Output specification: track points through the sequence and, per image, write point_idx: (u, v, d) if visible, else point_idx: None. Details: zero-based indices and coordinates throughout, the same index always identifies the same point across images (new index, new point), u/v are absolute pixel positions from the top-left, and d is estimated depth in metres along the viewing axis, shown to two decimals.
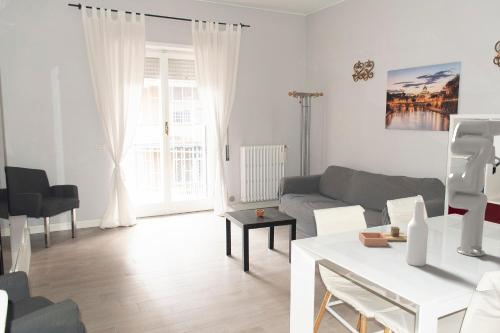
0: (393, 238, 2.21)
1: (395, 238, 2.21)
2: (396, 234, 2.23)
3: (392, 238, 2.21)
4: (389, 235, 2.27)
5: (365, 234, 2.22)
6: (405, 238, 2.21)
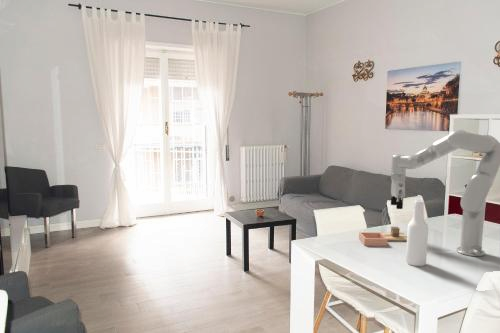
0: (393, 238, 2.21)
1: (395, 238, 2.21)
2: (396, 234, 2.23)
3: (392, 238, 2.21)
4: (389, 235, 2.27)
5: (365, 234, 2.22)
6: (405, 238, 2.21)
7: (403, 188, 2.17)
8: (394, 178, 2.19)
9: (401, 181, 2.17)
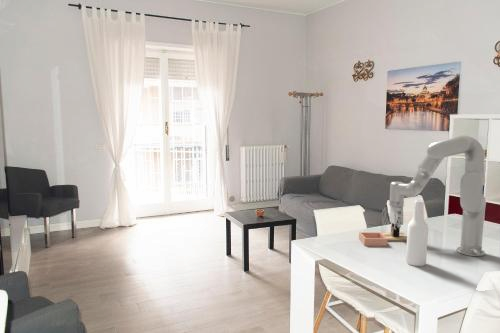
0: (393, 238, 2.21)
1: (395, 238, 2.21)
2: None
3: (392, 238, 2.21)
4: (389, 235, 2.27)
5: (365, 234, 2.22)
6: (405, 238, 2.21)
7: (401, 215, 2.19)
8: (392, 205, 2.21)
9: (399, 208, 2.19)
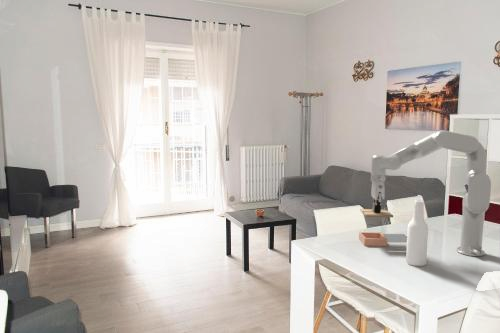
0: (374, 214, 2.12)
1: (376, 214, 2.12)
2: None
3: (373, 214, 2.12)
4: (370, 211, 2.18)
5: (365, 234, 2.22)
6: (386, 214, 2.12)
7: (383, 190, 2.10)
8: (374, 179, 2.12)
9: (381, 183, 2.10)
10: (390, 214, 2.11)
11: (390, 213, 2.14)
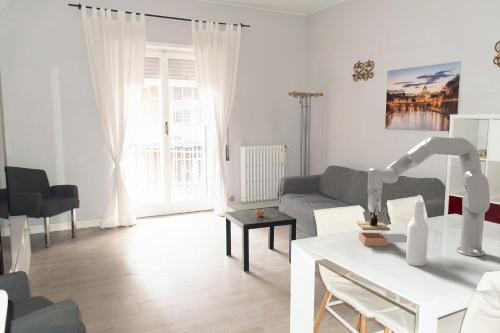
0: (370, 227, 2.11)
1: (373, 227, 2.12)
2: None
3: (369, 227, 2.11)
4: (367, 224, 2.17)
5: (365, 234, 2.22)
6: (383, 227, 2.12)
7: (379, 203, 2.09)
8: (370, 193, 2.11)
9: (377, 196, 2.09)
10: (387, 227, 2.11)
11: None
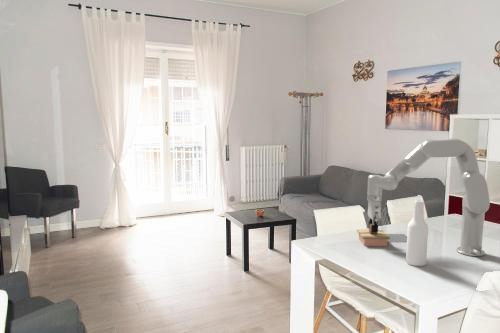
0: (371, 235, 2.12)
1: (373, 235, 2.12)
2: None
3: (370, 235, 2.12)
4: (367, 232, 2.18)
5: None
6: (383, 235, 2.12)
7: (379, 210, 2.10)
8: (370, 199, 2.12)
9: (377, 203, 2.10)
10: (387, 236, 2.12)
11: (387, 235, 2.14)
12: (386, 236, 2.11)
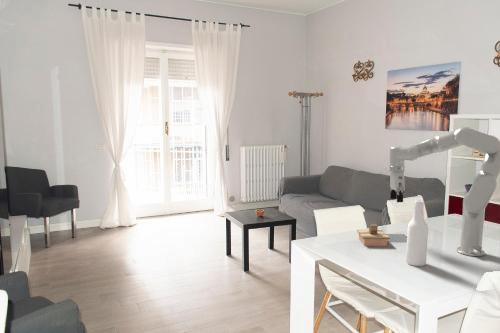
0: (371, 235, 2.12)
1: (373, 235, 2.12)
2: (374, 231, 2.14)
3: (370, 235, 2.12)
4: (367, 232, 2.18)
5: None
6: (383, 235, 2.12)
7: (403, 180, 2.11)
8: (393, 171, 2.13)
9: (400, 173, 2.11)
10: (387, 236, 2.12)
11: (387, 235, 2.14)
12: (386, 236, 2.11)
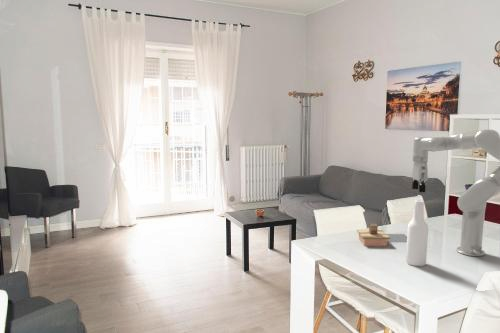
0: (371, 235, 2.12)
1: (373, 235, 2.12)
2: (374, 231, 2.14)
3: (370, 235, 2.12)
4: (367, 232, 2.18)
5: None
6: (383, 235, 2.12)
7: (426, 171, 2.14)
8: (416, 161, 2.16)
9: (424, 164, 2.14)
10: (387, 236, 2.12)
11: (387, 235, 2.14)
12: (386, 236, 2.11)
